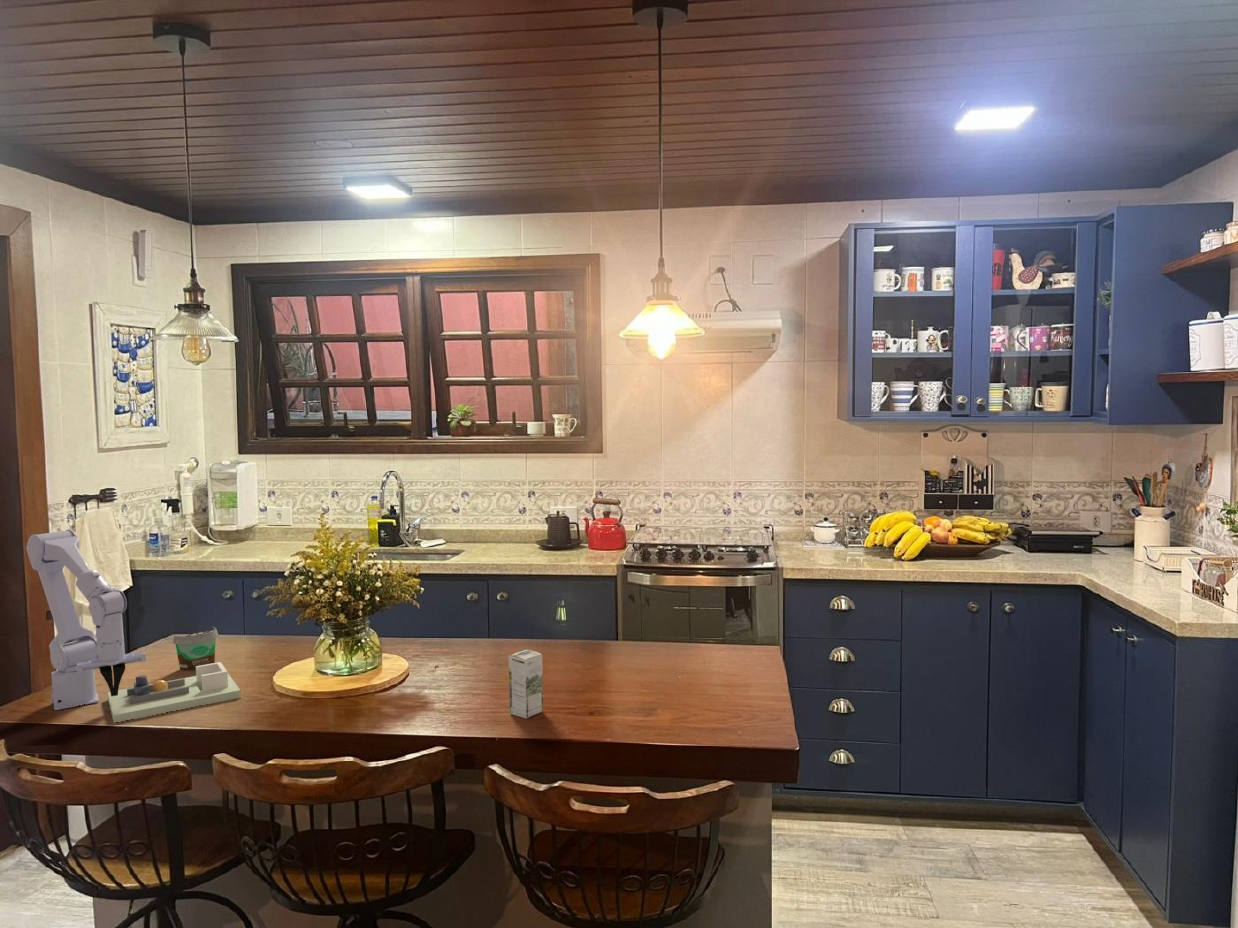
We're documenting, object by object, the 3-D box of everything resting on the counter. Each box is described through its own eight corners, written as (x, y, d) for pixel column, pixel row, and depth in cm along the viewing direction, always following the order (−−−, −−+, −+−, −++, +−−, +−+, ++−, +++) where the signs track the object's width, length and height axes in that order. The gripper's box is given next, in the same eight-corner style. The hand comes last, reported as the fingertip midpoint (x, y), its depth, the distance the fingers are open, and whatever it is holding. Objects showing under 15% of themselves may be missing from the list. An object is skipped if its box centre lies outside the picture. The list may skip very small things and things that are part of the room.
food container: (185, 674, 236) (182, 639, 236) (174, 670, 240) (172, 636, 239) (228, 663, 246) (226, 629, 245) (217, 659, 250) (215, 626, 249)
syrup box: (526, 707, 205) (524, 648, 204) (544, 712, 201) (542, 652, 200) (509, 714, 201) (507, 654, 200) (527, 719, 197) (525, 658, 196)
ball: (153, 697, 213) (152, 683, 212) (151, 693, 216) (151, 679, 215) (169, 694, 215) (168, 680, 214) (167, 690, 218) (166, 676, 217)
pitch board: (113, 723, 201) (112, 708, 201) (107, 699, 217) (106, 686, 217) (240, 697, 217) (240, 683, 216) (226, 677, 233) (225, 664, 233)
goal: (202, 691, 216) (201, 676, 216) (196, 681, 224) (195, 666, 224) (228, 686, 219) (227, 671, 219) (221, 676, 228) (220, 661, 227)
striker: (136, 700, 210) (135, 681, 209) (134, 694, 214) (133, 674, 214) (150, 698, 211) (149, 678, 211) (148, 691, 216) (146, 672, 216)
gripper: (76, 650, 201) (80, 705, 202) (145, 639, 209) (149, 692, 210) (74, 643, 207) (79, 697, 208) (142, 632, 215) (146, 685, 216)
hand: (114, 694), depth 209 cm, fingers closed
